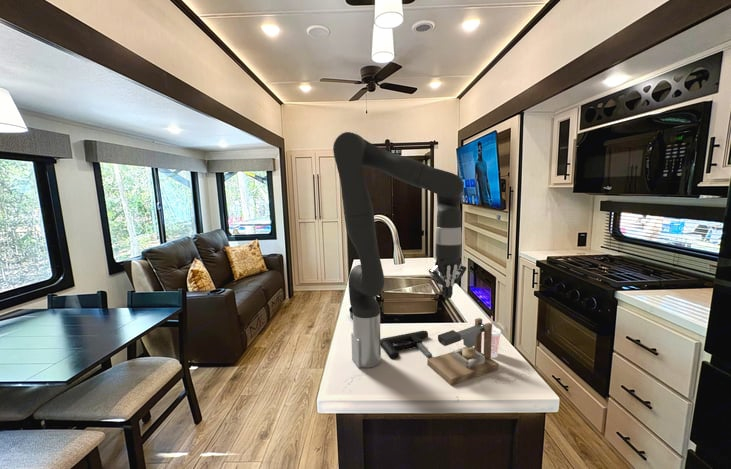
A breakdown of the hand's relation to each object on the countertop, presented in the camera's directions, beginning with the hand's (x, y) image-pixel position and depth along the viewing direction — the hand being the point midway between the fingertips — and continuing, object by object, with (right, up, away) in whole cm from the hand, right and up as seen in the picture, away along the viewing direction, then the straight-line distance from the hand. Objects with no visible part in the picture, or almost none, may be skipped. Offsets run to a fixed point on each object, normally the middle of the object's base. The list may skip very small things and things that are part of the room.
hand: (447, 297), depth 92 cm
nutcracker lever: (+7, -17, +5) cm, 19 cm away
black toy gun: (-9, -23, +19) cm, 31 cm away
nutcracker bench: (+7, -24, +6) cm, 26 cm away
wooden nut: (+9, -22, +7) cm, 25 cm away
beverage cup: (+19, -23, +13) cm, 33 cm away
